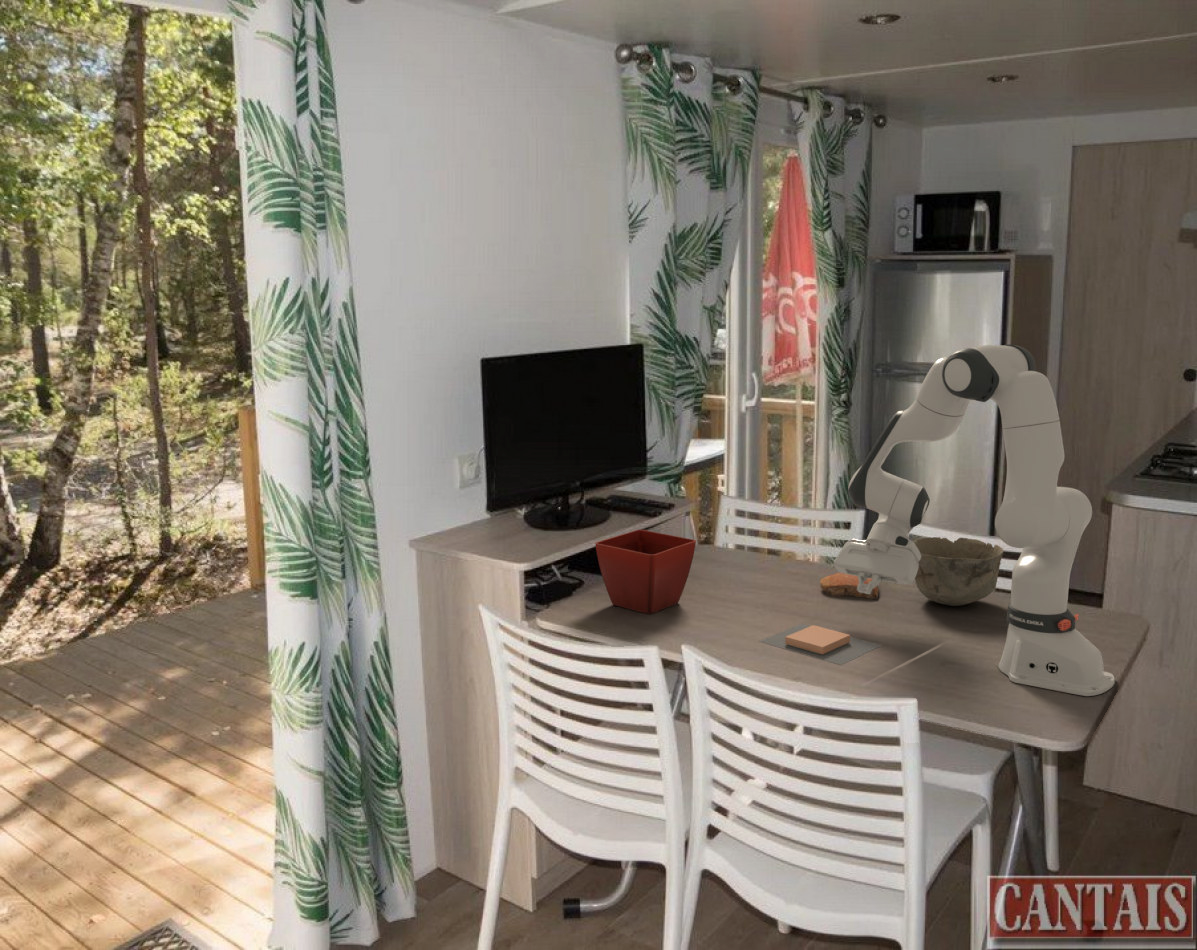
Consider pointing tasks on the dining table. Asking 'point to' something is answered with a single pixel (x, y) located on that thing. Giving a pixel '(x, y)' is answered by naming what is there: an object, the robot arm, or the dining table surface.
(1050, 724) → the dining table surface
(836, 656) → the mat
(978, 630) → the dining table surface
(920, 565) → the bowl
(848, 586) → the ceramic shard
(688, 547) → the plant pot
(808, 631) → the tile
